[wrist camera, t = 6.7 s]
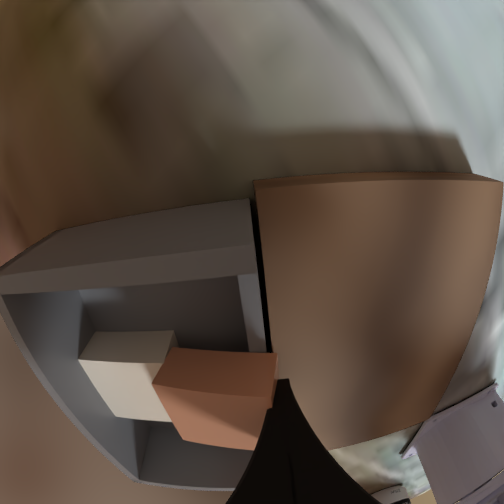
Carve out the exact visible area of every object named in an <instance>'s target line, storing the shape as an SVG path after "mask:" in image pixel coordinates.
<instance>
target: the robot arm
mask: <svg viewBox="0 0 504 504" xmlns="http://www.w3.org/2000/svg"><path fill="white" fill-rule="evenodd" d="M497 387H498V384H497V383H494V384H493V385H491V386H489V387H488V388H486V389H484V390H483V391H481V392H479V393H477V394H476V395H474V396H472V397H470V398H468V399H466V400H464V401H462V402H461V403H459V404H457V405H455V406H452V407H450V408H448V409H446V410H444V411H442V412H440V413H437V414H435V415H433V416H431V417H430V418H429V419H428V420H426V421H425V422H424V423H423V425H422V426H421V428H420V429H419V431H418V433H417V434H416V436H415V437H414V439H413V440H412V441H411V443H410V444H409V446H408V447H407V449H406V450H405V451H404V453H403V454H402V456H401V458H402V459H405V458H408V457H410V456H413V455H415V454H418V456H419V459H420V461H421V464H422V466H423V469H424V471H425V473H426V476H427V478H428V481H429V484H430V486H431V489H432V491H433V494H434V497H435V499H436V502H437V504H454V503H456V502H458V501H460V502H458V503H456V504H504V471H502V470H503V469H504V402H503V401H502V400H501V398H500V397H499V395H498V394H497V392H496V391H495V390H496V389H497ZM501 471H502V472H501ZM500 472H501V473H500ZM498 473H500V474H499V475H497V474H498ZM496 475H497V476H496ZM495 476H496V477H495ZM493 477H495V478H493ZM492 478H493V479H492ZM226 504H382V503H380V502H379V501H378V500H376V499H375V498H374V497H373V496H371V495H370V494H369V493H368V492H366V491H365V490H364V489H363V488H362V487H361V486H360V485H359V484H358V483H357V482H356V481H354V480H353V479H352V478H351V477H350V476H349V475H348V474H347V473H346V472H345V471H344V470H343V468H342V467H341V466H340V465H339V464H338V463H337V462H336V461H335V459H334V458H333V457H332V456H331V455H330V453H329V452H328V451H327V449H326V448H325V447H324V445H323V444H322V443H321V441H320V440H319V438H318V437H317V435H316V434H315V432H314V431H313V429H312V428H311V426H310V424H309V423H308V421H307V419H306V418H305V416H304V414H303V412H302V410H301V409H300V407H299V405H298V402H297V400H296V398H295V396H294V394H293V391H292V388H291V385H290V381H289V378H286V379H278V380H277V385H276V390H275V395H274V400H273V406H272V408H269V409H267V411H266V415H265V419H264V422H263V426H262V430H261V433H260V436H259V438H258V441H257V444H256V447H255V449H254V452H253V454H252V457H251V459H250V461H249V463H248V465H247V467H246V470H245V472H244V474H243V475H242V477H241V479H240V481H239V483H238V485H237V486H236V488H235V490H234V491H233V493H232V495H231V496H230V498H229V499H228V501H227V502H226Z"/></svg>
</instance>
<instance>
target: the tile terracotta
mask: <svg viewBox="0 0 504 504" xmlns="http://www.w3.org/2000/svg"><path fill="white" fill-rule="evenodd" d="M278 379H279V369H278V354H277V353H250V352H228V351H212V350H200V349H188V348H178V347H172V348H171V350H170V352H169V353H168V355H167V357H166V359H165V361H164V364H162V366H161V367H160V369H159V371H158V373H157V374H156V376H155V378H154V380H153V381H152V383H151V384H152V386H153V388H154V390H155V392H156V394H157V396H158V397H159V399H160V401H161V403H162V405H163V407H164V408H165V410H166V412H167V414H168V415H169V417H170V419H171V421H172V422H173V424H174V426H175V427H176V429H177V431H178V432H179V434H180V436H181V437H182V439H183V440H186V441H191V442H196V443H201V444H207V445H213V446H220V447H227V448H235V449H244V450H254V449H255V447H256V444H257V441H258V438H259V436H260V433H261V430H262V426H263V422H264V419H265V415H266V411H267V409H269V408H272V406H273V400H274V395H275V390H276V385H277V380H278Z"/></svg>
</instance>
